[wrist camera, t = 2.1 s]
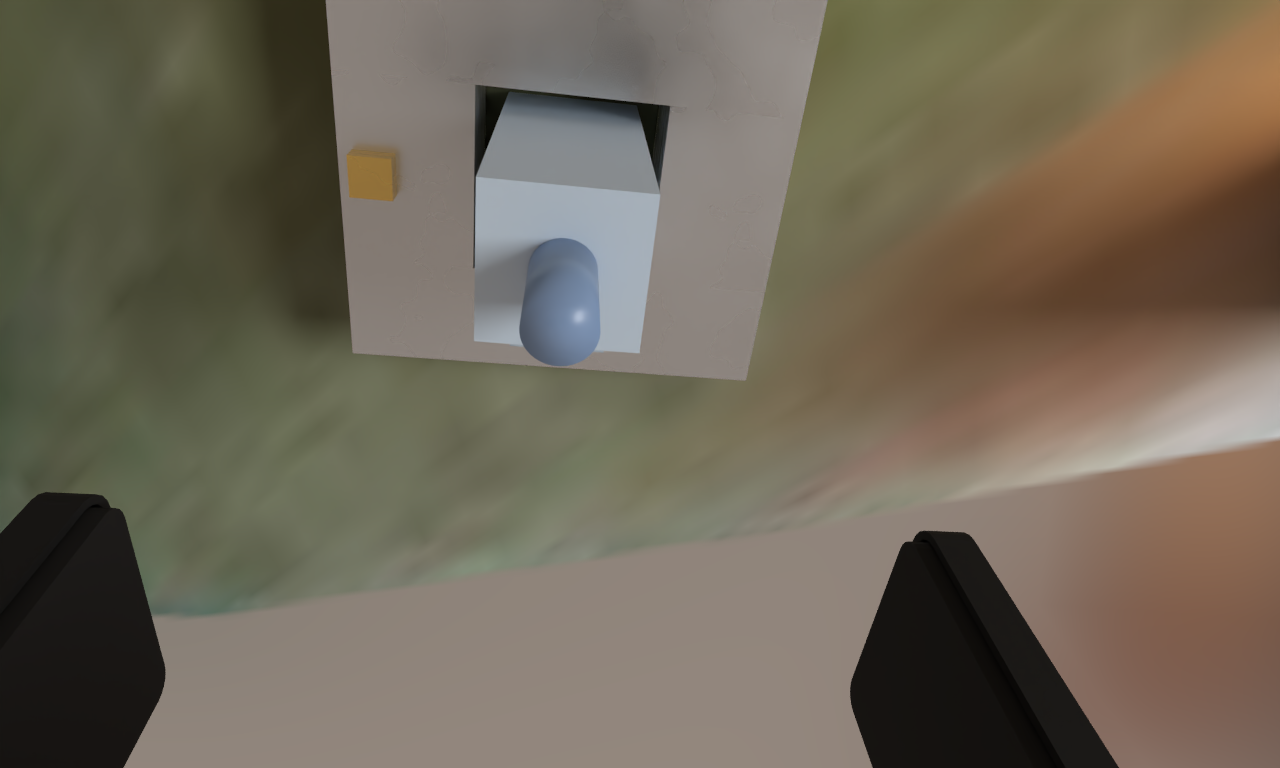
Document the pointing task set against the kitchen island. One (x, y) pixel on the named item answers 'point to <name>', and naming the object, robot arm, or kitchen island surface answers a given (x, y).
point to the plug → (564, 228)
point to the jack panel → (582, 66)
